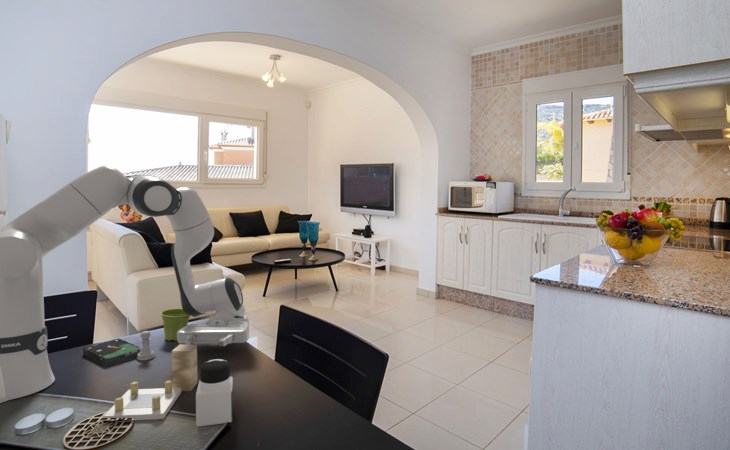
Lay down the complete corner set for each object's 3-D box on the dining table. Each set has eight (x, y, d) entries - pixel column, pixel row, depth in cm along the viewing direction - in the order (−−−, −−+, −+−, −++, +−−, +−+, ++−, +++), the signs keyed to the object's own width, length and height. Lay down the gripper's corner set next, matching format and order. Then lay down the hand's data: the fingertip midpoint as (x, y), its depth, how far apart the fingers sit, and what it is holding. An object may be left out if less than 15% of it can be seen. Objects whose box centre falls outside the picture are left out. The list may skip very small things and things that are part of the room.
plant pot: (170, 345, 131) (171, 317, 130) (153, 337, 136) (154, 311, 135) (196, 338, 138) (197, 312, 138) (179, 331, 144) (180, 307, 143)
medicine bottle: (232, 422, 87) (232, 367, 86) (196, 427, 85) (195, 371, 84) (233, 406, 94) (232, 354, 93) (199, 410, 92) (198, 357, 91)
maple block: (172, 390, 101) (171, 350, 100) (179, 382, 105) (179, 344, 105) (190, 390, 101) (190, 351, 100) (197, 382, 105) (196, 344, 105)
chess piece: (154, 353, 124) (154, 327, 123) (155, 359, 120) (154, 332, 119) (136, 356, 122) (136, 329, 121) (136, 362, 118) (136, 334, 117)
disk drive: (82, 356, 122) (106, 368, 114) (81, 347, 122) (105, 358, 114) (119, 346, 131) (143, 356, 123) (118, 337, 131) (143, 347, 122)
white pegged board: (103, 421, 87) (102, 404, 87) (128, 394, 99) (128, 379, 98) (163, 418, 88) (163, 402, 88) (181, 392, 100) (181, 377, 100)
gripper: (186, 317, 128) (166, 333, 115) (253, 316, 129) (240, 332, 115) (187, 337, 129) (167, 355, 115) (253, 336, 129) (241, 354, 116)
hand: (204, 343), depth 115 cm, fingers open, 8 cm apart
